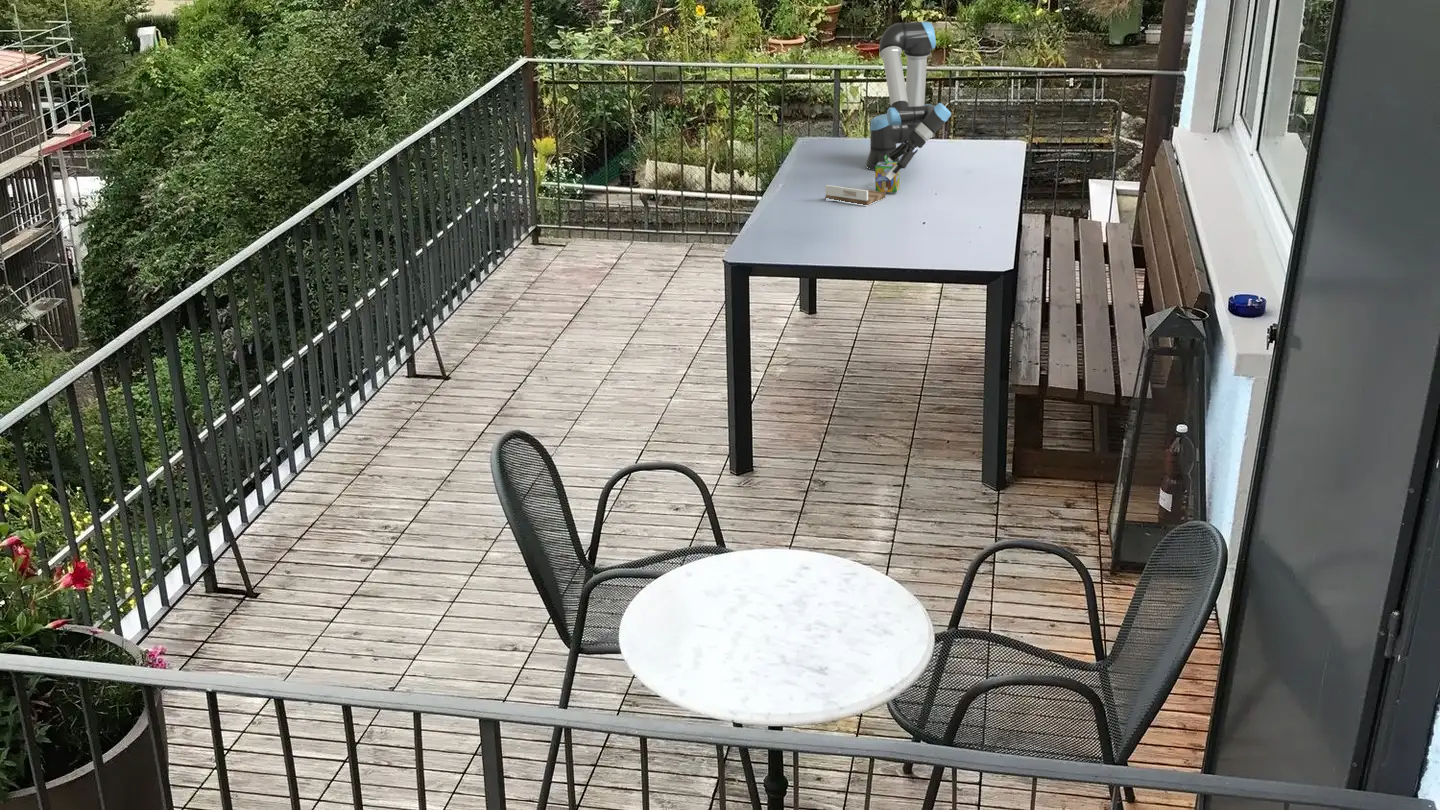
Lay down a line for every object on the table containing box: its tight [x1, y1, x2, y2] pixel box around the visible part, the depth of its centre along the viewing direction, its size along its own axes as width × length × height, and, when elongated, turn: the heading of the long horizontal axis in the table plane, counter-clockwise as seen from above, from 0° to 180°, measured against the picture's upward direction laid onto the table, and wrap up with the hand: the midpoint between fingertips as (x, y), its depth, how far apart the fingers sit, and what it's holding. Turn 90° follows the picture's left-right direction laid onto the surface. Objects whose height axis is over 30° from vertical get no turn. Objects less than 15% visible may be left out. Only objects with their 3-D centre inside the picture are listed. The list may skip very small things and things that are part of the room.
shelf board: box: [824, 184, 886, 206], centre depth 564 cm, size 15×20×6 cm
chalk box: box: [874, 155, 900, 193], centre depth 571 cm, size 9×9×15 cm
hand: (884, 174), depth 572 cm, fingers closed on chalk box, 11 cm apart
